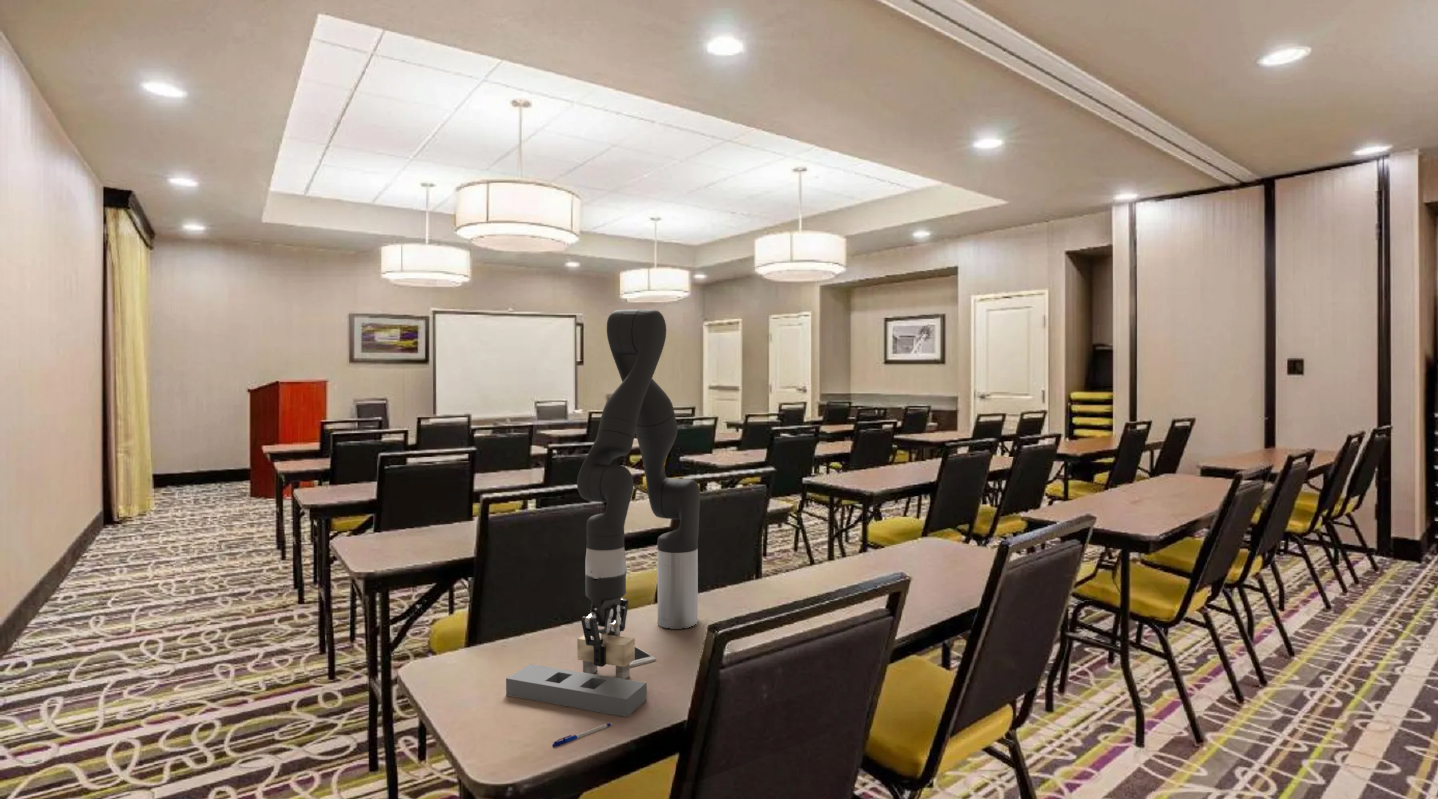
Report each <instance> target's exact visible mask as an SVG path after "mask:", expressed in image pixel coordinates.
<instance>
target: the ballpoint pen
mask: <svg viewBox="0 0 1438 799" xmlns="http://www.w3.org/2000/svg"><path fill="white" fill-rule="evenodd" d="M610 726H612V723H611V722H609V723H604V724H602V725H598V726H596V727H594V728H590V729H589V730H588V729H587V730H586V731H582V732H580V733H578V734H573V735H571V734H570V735H567V736H564V737H561V738H559V739H557V740H556V741H554V742H553V744H552V746H551V747H552V748H557V747H560V746H562V745H565V744H568V743H570V742H573V741H576V740H578V739H580V738H583V737H585V736H587V735H588V736H589V735H590V734H593V733H596V732H599V731H601V730H604V729H607V728H609V727H610Z"/></svg>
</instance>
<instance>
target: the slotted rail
mask: <svg viewBox="0 0 1438 799" xmlns="http://www.w3.org/2000/svg"><path fill="white" fill-rule="evenodd" d="M505 679H506V680H505V690H506V692H505V695H506V696H508V697H509V696H510V697H514V698H519V699H525V700H530V701H537V702H542V703H548V704H552V705H558V706H565V707H567V708H568V707H569V708H575V709H580V710H585V711H591V712H595V713H597V712H598V713H602V714H607V715H613V716H619V717H623V718H628V717H629V716H630V715H631V714H632V713H634V711H636V710H637V709H638V708H639V707H641V705H643V703H644V702H645V703H646V701H647V698H648V697H647V694H648V692H647V691H648V690H647V689H648V688H647V687H648V686H647V685H648V684H647V682H645V681H639V680H632V679H628V678H626V679H621V678H616V676H608V675H602V674H595V673H593V674H590V673H584V672H583V671H576V670H571V669H570V670H569V669H564V668H558V667H552V666H545V665H539V664H533V663H530V664H529V665H526V666H524V667H523V668H521V669H519V670H518V671H516V672H515V673H513V674H511V675H509V676H508V677H506V678H505Z"/></svg>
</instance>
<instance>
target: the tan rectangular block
mask: <svg viewBox="0 0 1438 799" xmlns="http://www.w3.org/2000/svg"><path fill="white" fill-rule="evenodd" d="M599 635H600V640H601V633H599ZM591 639H592V636H591ZM635 640H636V638H635V637H627V636H621V635H620V636H614V635H607V637H606V645H605V646H606V665H609V666H615V678H621V679H628V678H629V677H630V668H631V667H630V663H631V662H632V661H633V660H635V646H636V645H635V644H636V641H635ZM576 642H577V644H576V645H577V661H582V672H584V673H590V674H595V673H596V672H597V671H598V666H595V665H594V647H593V646H589V645H586V641H585V636H584V634H583V635H581V636H579V637H578V638H577V640H576Z"/></svg>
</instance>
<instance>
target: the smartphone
mask: <svg viewBox="0 0 1438 799" xmlns="http://www.w3.org/2000/svg"><path fill="white" fill-rule="evenodd" d="M654 660H655V661H656V657H655V656H653V655H651V654H650V653H648V652H646V651H644V650H642V649H641V648H639V647H637V646H636V645H635V660H633V661H632V662H631V663H630V668H632V667H637V666H641V665H643V664H647V663H651V662H655V661H654Z"/></svg>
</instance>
